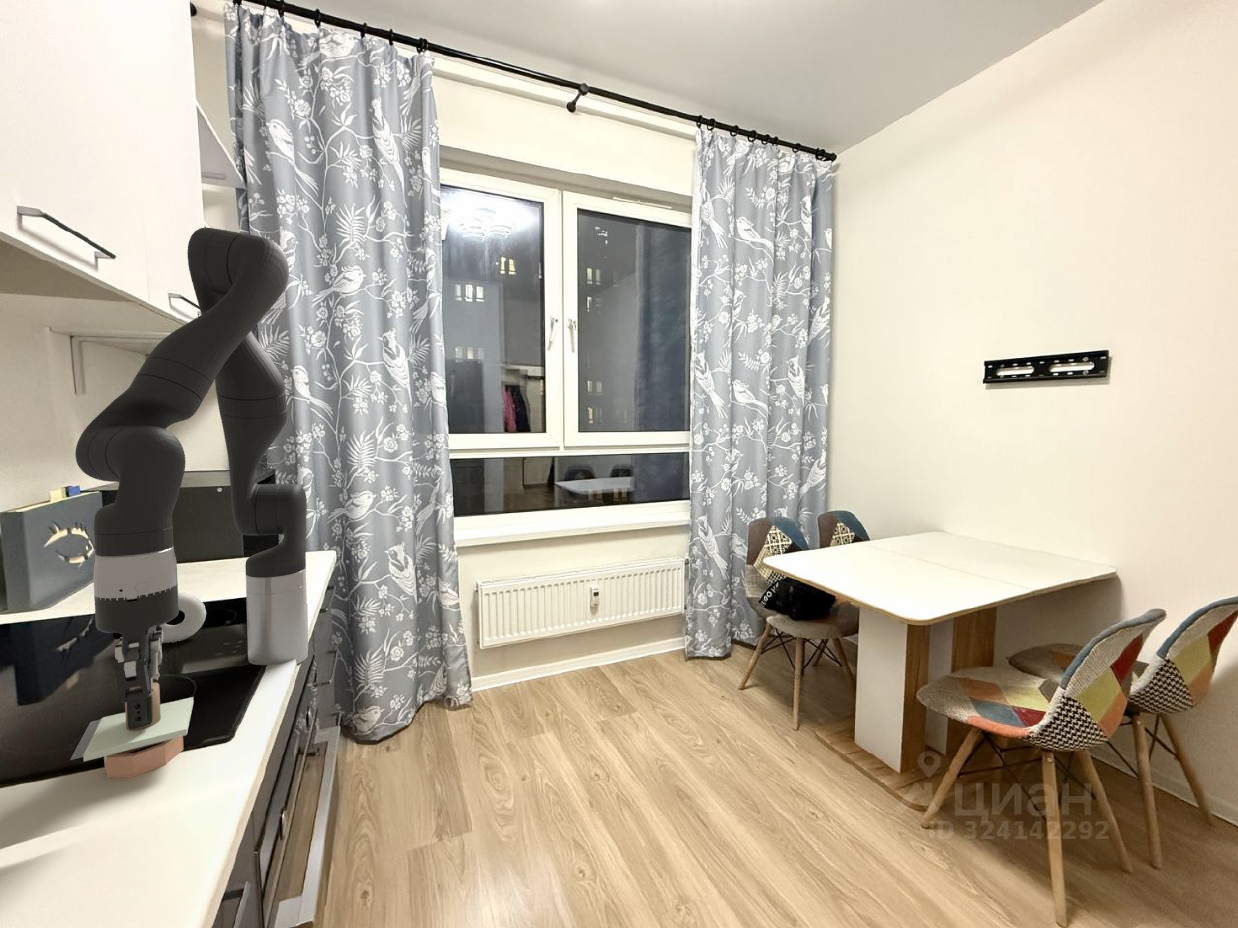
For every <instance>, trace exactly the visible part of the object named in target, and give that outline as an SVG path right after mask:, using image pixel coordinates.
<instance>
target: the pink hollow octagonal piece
mask: <svg viewBox="0 0 1238 928" xmlns="http://www.w3.org/2000/svg"><path fill="white" fill-rule="evenodd" d="M153 745H155V746H153ZM150 746H152V747H150ZM148 747H149V748H148ZM145 748H146V749H145ZM142 749H143V750H142ZM139 750H141V751H139ZM136 751H137V752H136ZM182 751H184V736H181V737H177V738H173V739H169V740H165V741H162V742H158V743H154V744H150V745H146V746H142V747H138V748H134V749H131V750H127V751H123V752H119V753H115V754H111V755H107V756H104V757H103V760H104V761H103V762H104V763H103V764H104V769H105V772H106V777H107V778H108V779H109V778H124V777H125V778H127V777H128V778H129V777H136V776H139V775H141V774H144V773H148V772H150V771H152V770H154V769H157V768H160V767H163V766H166V765H167V764H168V763H169V762H171V760H173V759H174V758H175V757H177V756H178V755H179V754H180V753H181V752H182Z"/></svg>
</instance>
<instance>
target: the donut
mask: <svg viewBox="0 0 1238 928" xmlns="http://www.w3.org/2000/svg"><path fill="white" fill-rule="evenodd" d="M178 605H179V611H181V612H182V613H184V619H183V620H182V622H180V623H178V624H175V625H174V624H167V623H165V624H162V625H161V627H162V631H163V642H162V644H166V643H167V644H168V643H169V644H170V642H171V643H177V641H178V642H180V641H184V640H186V639H188V638H190V637H192V636H193V635H194V634H196V633H197V632H198V631H199V630H200V629H201V628H202V626H203V625H204V622H205V621H206V616H207V610H206V606H205V604H204V603H203V602H202V600H201V599H200V598H199V597H197V596H195V595H194V594H191V593H187V592H178Z"/></svg>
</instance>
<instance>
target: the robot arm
mask: <svg viewBox="0 0 1238 928" xmlns="http://www.w3.org/2000/svg"><path fill="white" fill-rule="evenodd" d="M187 264H188V271H189V274H190V278H191V283H192V286H193V290H194V295H195V296H196V297H195V298H196V300H197V304H198V307H199V311H200V315H199V316H197V317H196V318H194V319H192V320H190V321H189V322H187V323H185V324H184V325H182V326H180V327H178V328H177V329H175V330H174V331H172V332H171V333H169V334H168V335H167V336H166V337H164V338H163V339H162V340H161V341H159V343H158V344H156V345H155V347H154V348H153V349H152V351H151V352H150V353H149V354H148V357H146V360H145V361H144V362H143V364H142V365H141V367H140V369H139V370H138V372H137V374H136V375H135V376H134V378H133V380H132V382H131V383H130V386H129V387H128V388H126V390H124V392H122V393H121V394H120V395H119V396H117V397H116V398H115V399H114V400H112V402H111V403H109V404H108V405H107V407H105V408H104V409H103V410H102V411H101V412H100V413H98V415H97V416H95V418H93V420H92V421H91V422H90V423H89V424H88V425H87V426H86V427H85V428H84V429H83V431H82V433H81V434H80V436H79V438H78V441H77V443H76V446H75V453H74V454H75V455H74V456H75V460H76V463H77V466H78V468H79V469H80V470H81V471H82V473H84V474H86V476H89V478H92V479H95V480H99V481H103V482H111V483H112V482H113V483H114V482H115V483H118V488H117V491H116V492H117V493H116V497H115V501H114V502H113V503H109V504H107V505H104V506H103V505H102V507H100V508H99V509H98V510H97V511H96V512H95V515H94V518H93V519H94V521H93V532H94V535H93V536H94V552H95V555H94V564H93V565H94V566H93V573H92V574H93V594H94V595H93V596H94V614H95V615H94V617H95V628H96V629H97V631H99V632H102V633H106V634H113V633H115V634H120V635H122V636H121V637H120V638H119V643H118V644H115V646H114V658H115V659H116V660H117V662H115V666H114V668H113V670H114V672H115V677H116V682H117V687H118V694H119V698H118V699H119V701H120V703H121V704H125V702H127V718H128V728H129V729H136V728H140V727H144V726H148V725H150V724H151V723H152V721H153V703H152V693H153V692H154V688H153V683H158V680H159V677H160V673H159V671H160V670H161V668H162V660H163V651H162V649H163V648H162V644H163V631H162V627H161V625H162V624H165V623H166V624H167V623H170V621H172V620H174V619H175V618H176V617H178V615H179V612H180V610H179V605H178V593H179V586H178V585H179V584H178V564H177V563H178V562H177V558H176V554H175V548H174V523H173V512H174V510H175V507H176V504H177V501H178V498H179V493H180V491H181V486H182V483H183V479H184V476H185V472H186V471H185V470H186V462H187V461H186V455H185V450H184V447H183V445H182V443H181V442H180V439H179V438H178V437H177V436H176V435H175V434H174V433H173V432H171V431H170V430H168V429H167V428H168V427H170V426H171V425H173V424H177V423H180V422H182V421H186V420H188V419H190V418H192V417H193V416H194V415H196V412H197V411H198V409H199V408H200V406H201V405H202V403H203V402H204V399H205V398H206V395H208V392H209V390H210V389H211V387H212V385H213V383H214V382H215V383H214V384H215V393H216V398H217V404H218V405H217V406H218V410H219V411H218V412H219V416H220V421H221V425H222V430H223V436H224V440H225V445H226V451H227V452H226V454H227V458H228V459H227V460H228V469H229V470H228V471H229V485H230V496H231V499H230V500H231V510H232V518H233V523H234V526H235V528H236V530H237V532H238V533H240V534H241V535H243V536H270V535H283V540H282V542H280V543H278V544H277V545H276V546H273V547H271V548H268V549H266V550H263V551H260V552H257V553H254V554H253V555H251V556H249V557H248V558H247V559H246V561H245V564H244V566H245V567H244V568H245V591H246V623H247V624H246V628H247V630H246V631H247V633H246V634H247V661H248V663H250V664H252V665H257V666H270V665H271V666H272V665H278V664H283V663H286V662H289V661H292V660H295V663H296V665H299V664H301V663H302V662H303V661H306V659H307V658H308V654H309V653H308V651H309V624H308V622H309V616H308V614H309V613H308V603H307V602H308V599H307V598H308V597H307V593H308V592H307V560H306V559H307V558H306V557H307V556H306V551H307V549H306V546H307V545H306V533H307V531H306V530H307V529H306V528H307V511H308V510H307V507H308V504H307V493H306V490H305V489H304V487H303V486H302V485H300V484H298V483H264V484H263V483H262V484H258V483H257V481H256V473H257V468H258V467H259V465H260V463H261V461H262V459H263V457H264V456H265V454H266V453H267V451H268V449H270V447H271V446H272V445H273V443H274V441H275V440H276V439H277V438H278V437H279V435H280V433H281V432H282V430H283V429H284V427H285V424H287V423H286V422H287V419H288V405H287V397H286V396H287V394H286V387H285V381H284V379H283V377H282V374H281V373H280V371H279V368H277V366H276V365H275V363H274V361H273V360H272V359H271V357H270V356H269V355H268V353H267V352H266V350H265V349H264V348H263V347H262V345H261V344H260V343H259V341H258V339H257V337H255V335H254V333H253V331H252V330H254V329H255V328H256V327H257V325H258V324H259V323H260V321H261V320H262V319H263V318H264V316H265V315H266V314H267V313H268V312H269V311H270V310H271V309H272V308H273V306H274V305H275V304H276V302H277V301H278V300H279V299H280V297H281V296H282V294H283V293H284V291H285V289H286V287H287V285H288V282H289V277H290V276H289V275H290V268H289V267H290V266H289V262H288V258H287V256H286V253H285V252H284V250H283V249H282V247H280V245H279V244H277V242H275V241H274V240H272V239H269V238H267V237H266V238H265V237H263V236H260V235H259V236H258V235H255V234H249V233H242V232H237V231H231V230H226V229H220V228H214V227H201V228H198V229H197V230H195V231H194V232H193V233H192V234H191V236H190V238H189V240H188V244H187ZM137 686H141V687H142V688H137V689H132V690H131V688H132V687H137Z"/></svg>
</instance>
